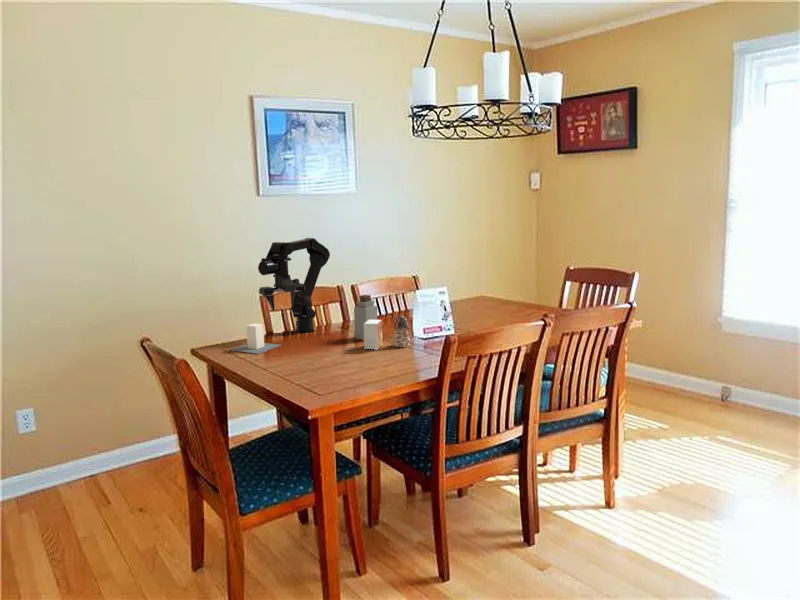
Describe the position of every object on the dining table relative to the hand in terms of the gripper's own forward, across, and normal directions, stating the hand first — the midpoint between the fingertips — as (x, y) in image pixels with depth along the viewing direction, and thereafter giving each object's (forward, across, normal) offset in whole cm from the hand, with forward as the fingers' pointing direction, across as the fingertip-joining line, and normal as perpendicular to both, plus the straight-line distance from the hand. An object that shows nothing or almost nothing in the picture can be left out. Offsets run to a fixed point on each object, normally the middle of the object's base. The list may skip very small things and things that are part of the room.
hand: (283, 309), depth 267 cm
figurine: (+12, +27, -46) cm, 55 cm away
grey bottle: (+12, +24, -26) cm, 37 cm away
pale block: (+12, -18, -10) cm, 23 cm away
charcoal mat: (+12, -18, -10) cm, 24 cm away
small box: (+12, +17, -41) cm, 46 cm away
